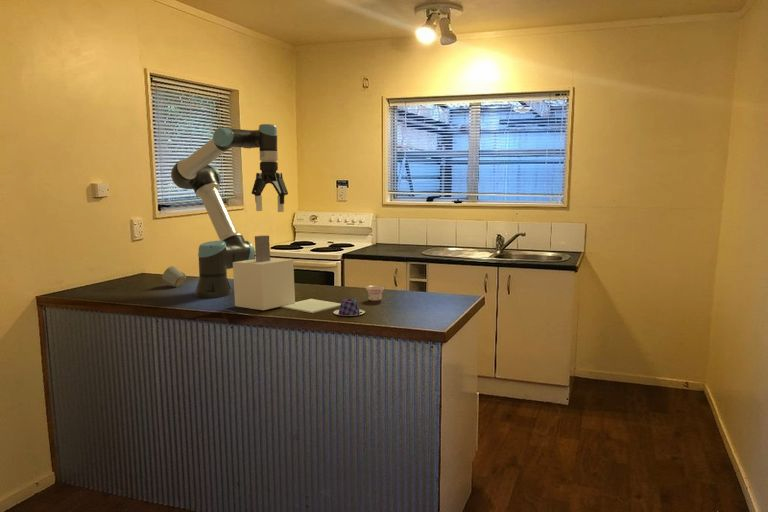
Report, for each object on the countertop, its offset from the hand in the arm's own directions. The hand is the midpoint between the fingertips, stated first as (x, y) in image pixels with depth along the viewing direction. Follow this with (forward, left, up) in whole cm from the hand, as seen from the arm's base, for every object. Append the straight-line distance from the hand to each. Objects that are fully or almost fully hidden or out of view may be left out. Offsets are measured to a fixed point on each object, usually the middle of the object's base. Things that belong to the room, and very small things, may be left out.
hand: (269, 211), depth 256 cm
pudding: (+50, -6, -37) cm, 63 cm away
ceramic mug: (-53, -12, -37) cm, 66 cm away
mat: (+30, -6, -37) cm, 48 cm away
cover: (+14, -16, -36) cm, 42 cm away
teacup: (+44, +17, -37) cm, 60 cm away
